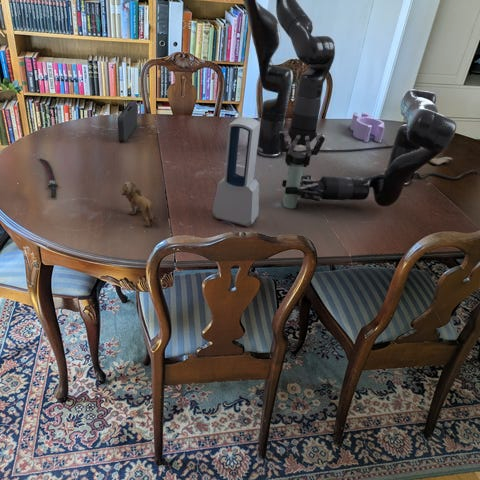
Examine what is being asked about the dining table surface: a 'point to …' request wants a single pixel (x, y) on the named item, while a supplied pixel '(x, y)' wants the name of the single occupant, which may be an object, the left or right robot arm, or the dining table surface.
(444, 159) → the jawbone
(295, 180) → the pale green tube
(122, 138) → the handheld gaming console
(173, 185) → the dining table surface
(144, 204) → the lion figurine
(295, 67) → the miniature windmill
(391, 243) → the dining table surface
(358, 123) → the clip
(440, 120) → the right robot arm
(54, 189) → the sword
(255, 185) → the electronic device
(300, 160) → the lid
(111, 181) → the dining table surface
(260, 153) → the left robot arm
